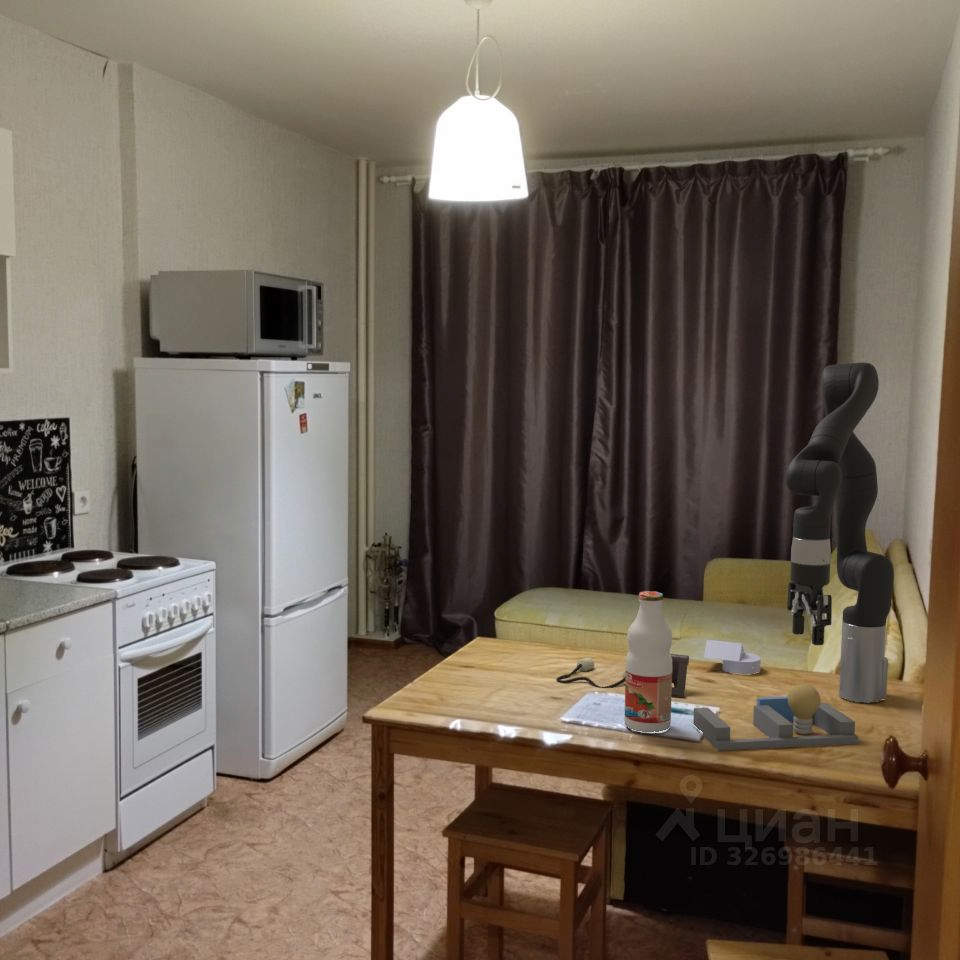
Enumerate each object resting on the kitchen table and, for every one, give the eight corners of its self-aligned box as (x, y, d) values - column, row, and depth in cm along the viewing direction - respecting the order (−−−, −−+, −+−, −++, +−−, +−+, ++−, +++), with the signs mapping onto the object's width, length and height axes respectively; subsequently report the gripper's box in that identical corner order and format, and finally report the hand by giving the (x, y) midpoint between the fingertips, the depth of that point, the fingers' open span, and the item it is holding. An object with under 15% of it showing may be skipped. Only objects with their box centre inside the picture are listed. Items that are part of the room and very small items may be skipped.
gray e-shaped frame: (821, 718, 222) (822, 695, 222) (857, 743, 207) (859, 719, 207) (690, 723, 218) (690, 700, 217) (717, 750, 203) (718, 725, 202)
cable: (608, 696, 237) (608, 681, 237) (549, 682, 247) (549, 668, 247) (643, 680, 249) (643, 666, 249) (585, 668, 259) (586, 654, 259)
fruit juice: (678, 733, 212) (682, 597, 209) (634, 736, 210) (638, 599, 207) (659, 718, 221) (662, 587, 218) (617, 721, 219) (620, 589, 216)
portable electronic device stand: (644, 694, 238) (645, 658, 237) (650, 684, 245) (651, 649, 244) (683, 698, 235) (684, 662, 234) (688, 688, 242) (690, 653, 241)
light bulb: (820, 739, 209) (822, 690, 208) (787, 736, 211) (789, 688, 210) (817, 728, 216) (819, 681, 215) (785, 726, 217) (786, 679, 216)
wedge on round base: (703, 671, 256) (757, 677, 251) (703, 644, 255) (758, 649, 251) (709, 661, 264) (762, 667, 260) (710, 635, 264) (763, 641, 259)
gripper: (846, 566, 203) (842, 647, 205) (811, 553, 217) (808, 629, 219) (809, 567, 202) (806, 649, 203) (777, 554, 216) (774, 631, 217)
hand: (807, 639), depth 211 cm, fingers open, 8 cm apart
